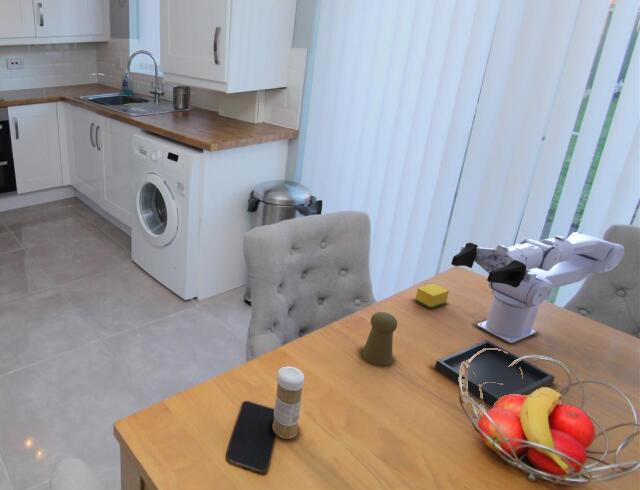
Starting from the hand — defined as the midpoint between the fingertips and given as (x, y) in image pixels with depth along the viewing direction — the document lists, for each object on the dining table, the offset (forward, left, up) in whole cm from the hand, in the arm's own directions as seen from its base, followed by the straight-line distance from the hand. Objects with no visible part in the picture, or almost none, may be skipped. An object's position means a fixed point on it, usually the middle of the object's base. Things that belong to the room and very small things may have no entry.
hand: (471, 268), depth 102 cm
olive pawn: (+16, -6, -22) cm, 28 cm away
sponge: (-15, -16, -22) cm, 31 cm away
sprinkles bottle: (+49, +2, -22) cm, 54 cm away
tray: (0, +9, -22) cm, 23 cm away
